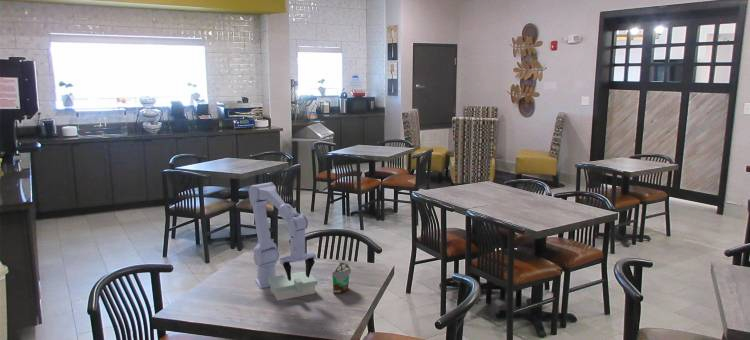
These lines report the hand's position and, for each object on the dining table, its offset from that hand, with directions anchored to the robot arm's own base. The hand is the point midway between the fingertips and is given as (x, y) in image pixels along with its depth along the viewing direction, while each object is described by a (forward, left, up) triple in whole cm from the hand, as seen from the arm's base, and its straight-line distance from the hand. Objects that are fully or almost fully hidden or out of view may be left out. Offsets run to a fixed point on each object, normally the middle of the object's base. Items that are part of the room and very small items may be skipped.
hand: (298, 278), depth 213 cm
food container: (-1, +20, -10) cm, 22 cm away
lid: (-6, 0, -5) cm, 8 cm away
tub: (-8, 0, -9) cm, 12 cm away
